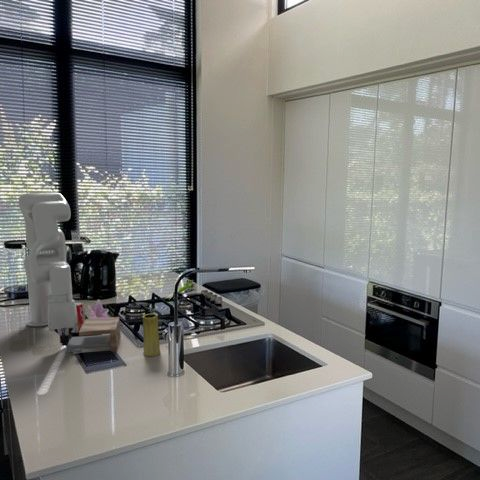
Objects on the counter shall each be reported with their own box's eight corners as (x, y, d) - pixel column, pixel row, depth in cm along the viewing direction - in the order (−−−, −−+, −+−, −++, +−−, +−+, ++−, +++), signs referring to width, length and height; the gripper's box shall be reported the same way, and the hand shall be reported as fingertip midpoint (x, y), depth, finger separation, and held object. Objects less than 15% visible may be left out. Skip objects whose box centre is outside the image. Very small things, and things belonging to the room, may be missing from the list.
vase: (163, 351, 168) (161, 314, 166) (155, 357, 162) (153, 318, 160) (148, 349, 170) (147, 312, 168) (140, 355, 164) (138, 317, 162)
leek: (162, 304, 241) (186, 287, 269) (173, 307, 239) (196, 289, 266) (162, 293, 239) (186, 277, 267) (174, 296, 237) (197, 279, 265)
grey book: (72, 343, 178) (72, 336, 178) (114, 340, 180) (113, 333, 180) (66, 352, 168) (66, 345, 168) (110, 349, 171) (110, 342, 170)
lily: (84, 331, 196) (92, 313, 194) (77, 315, 205) (86, 297, 202) (109, 333, 204) (118, 316, 201) (102, 317, 212) (110, 301, 210)
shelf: (80, 340, 182) (78, 319, 181) (120, 337, 184) (119, 316, 183) (72, 354, 166) (70, 332, 165) (116, 351, 169) (115, 329, 168)
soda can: (80, 334, 189) (78, 306, 187) (65, 333, 190) (63, 305, 189) (89, 328, 196) (87, 301, 194) (74, 328, 197) (72, 301, 196)
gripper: (38, 301, 166) (41, 349, 168) (80, 299, 168) (83, 346, 171) (43, 296, 173) (47, 342, 175) (84, 294, 176) (87, 339, 178)
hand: (65, 344), depth 173 cm, fingers closed
